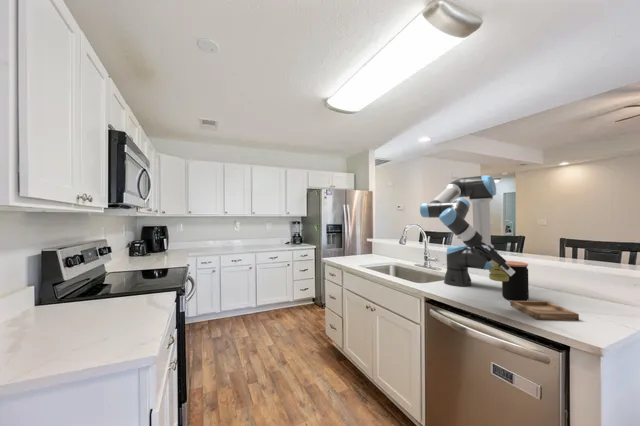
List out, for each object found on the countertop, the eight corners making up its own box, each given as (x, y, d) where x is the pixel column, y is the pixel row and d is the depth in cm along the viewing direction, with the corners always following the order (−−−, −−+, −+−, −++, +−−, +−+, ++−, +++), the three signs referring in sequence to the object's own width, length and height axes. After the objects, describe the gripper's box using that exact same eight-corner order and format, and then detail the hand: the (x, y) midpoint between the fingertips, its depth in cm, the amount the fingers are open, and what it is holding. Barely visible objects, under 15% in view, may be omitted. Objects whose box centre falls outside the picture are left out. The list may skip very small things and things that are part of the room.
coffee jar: (519, 295, 137) (519, 261, 138) (534, 302, 127) (533, 264, 127) (497, 295, 138) (497, 261, 139) (510, 302, 128) (509, 264, 128)
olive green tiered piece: (490, 277, 125) (490, 255, 125) (509, 279, 120) (509, 257, 120) (488, 280, 119) (487, 257, 119) (508, 282, 114) (507, 259, 115)
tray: (510, 306, 122) (510, 300, 122) (547, 306, 121) (547, 301, 121) (536, 319, 106) (536, 313, 106) (578, 320, 105) (578, 314, 105)
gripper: (453, 239, 131) (488, 273, 129) (474, 244, 111) (515, 283, 110) (464, 229, 130) (499, 262, 129) (487, 231, 111) (529, 270, 109)
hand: (507, 272), depth 119 cm, fingers closed on olive green tiered piece, 7 cm apart
